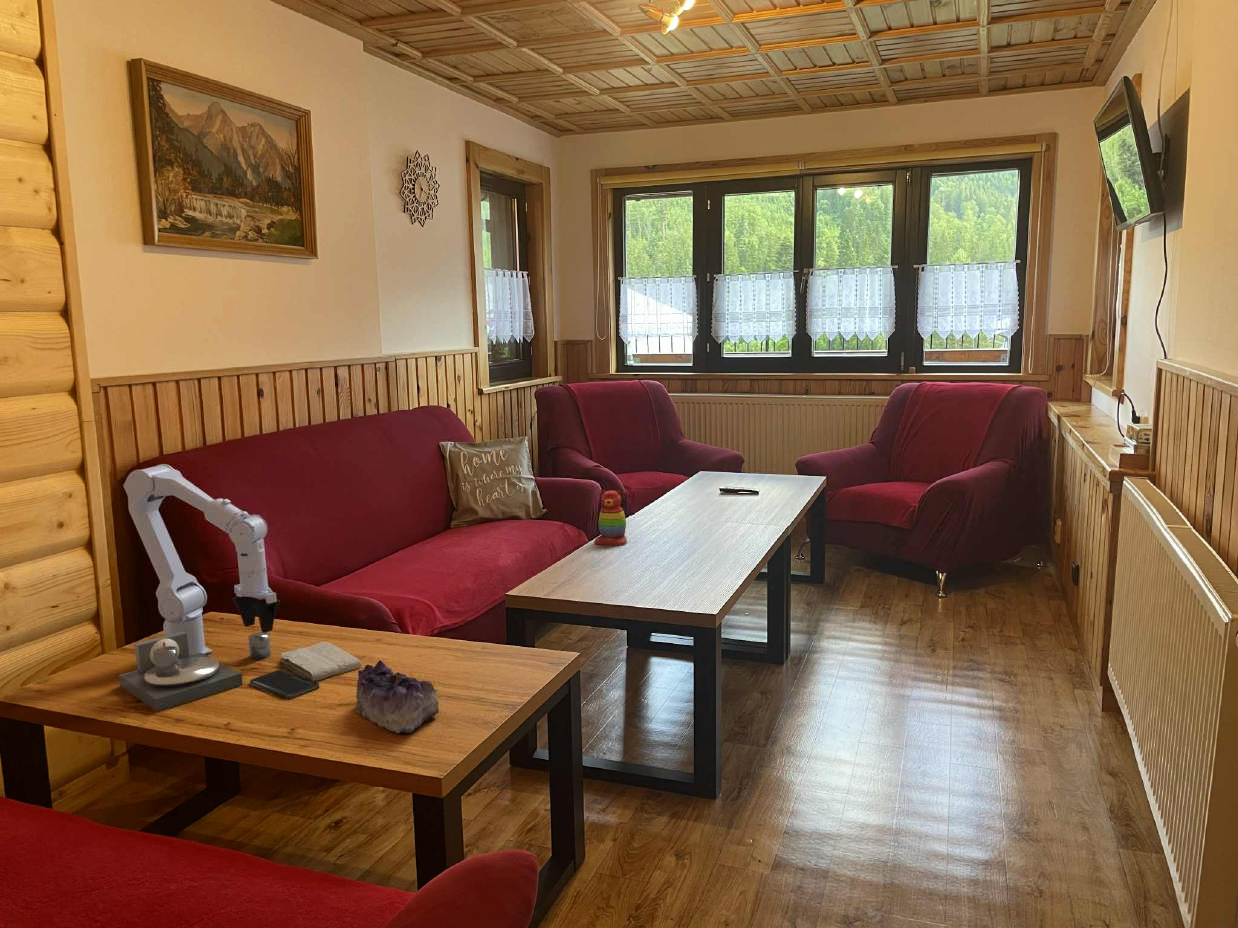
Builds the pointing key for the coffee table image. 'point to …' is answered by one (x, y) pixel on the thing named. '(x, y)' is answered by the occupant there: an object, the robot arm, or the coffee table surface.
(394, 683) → the geode
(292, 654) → the washcloth
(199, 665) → the pan
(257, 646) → the cylinder
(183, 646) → the scale
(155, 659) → the cylinder
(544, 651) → the coffee table surface
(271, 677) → the phone
